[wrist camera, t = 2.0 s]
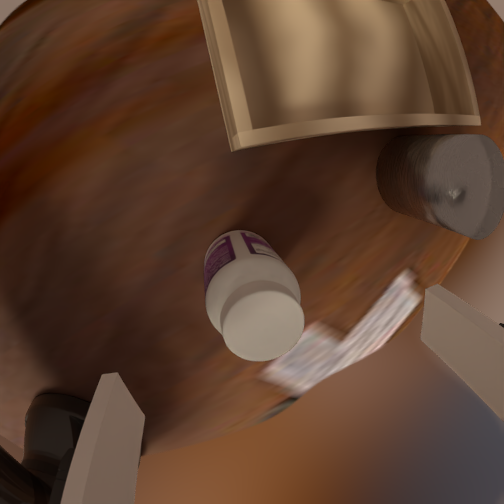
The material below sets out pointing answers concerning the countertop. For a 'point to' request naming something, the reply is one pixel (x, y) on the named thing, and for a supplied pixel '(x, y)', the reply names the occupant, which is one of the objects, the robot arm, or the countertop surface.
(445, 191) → the tin can
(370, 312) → the countertop surface
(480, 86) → the countertop surface
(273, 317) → the pill bottle
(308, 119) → the caddy
